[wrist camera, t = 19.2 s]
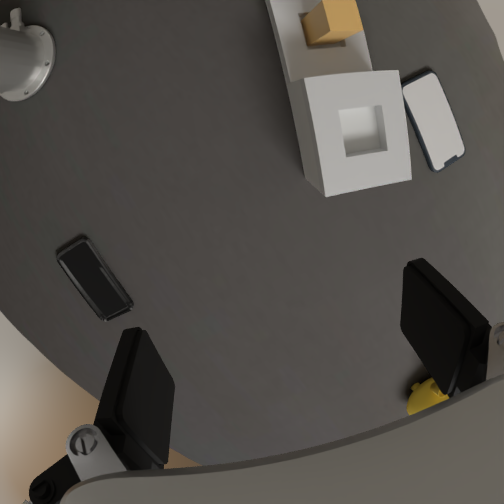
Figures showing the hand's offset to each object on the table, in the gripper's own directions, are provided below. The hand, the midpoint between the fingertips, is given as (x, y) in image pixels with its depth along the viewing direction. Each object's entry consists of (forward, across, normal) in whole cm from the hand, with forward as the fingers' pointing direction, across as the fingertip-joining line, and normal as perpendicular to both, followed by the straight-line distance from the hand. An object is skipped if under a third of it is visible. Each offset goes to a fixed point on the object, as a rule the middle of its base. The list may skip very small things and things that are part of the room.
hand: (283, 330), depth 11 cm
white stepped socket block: (+36, -15, -9) cm, 40 cm away
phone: (+37, +28, +13) cm, 48 cm away
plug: (+35, -15, -16) cm, 42 cm away
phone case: (+37, -33, -1) cm, 49 cm away
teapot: (+37, -36, +65) cm, 83 cm away
